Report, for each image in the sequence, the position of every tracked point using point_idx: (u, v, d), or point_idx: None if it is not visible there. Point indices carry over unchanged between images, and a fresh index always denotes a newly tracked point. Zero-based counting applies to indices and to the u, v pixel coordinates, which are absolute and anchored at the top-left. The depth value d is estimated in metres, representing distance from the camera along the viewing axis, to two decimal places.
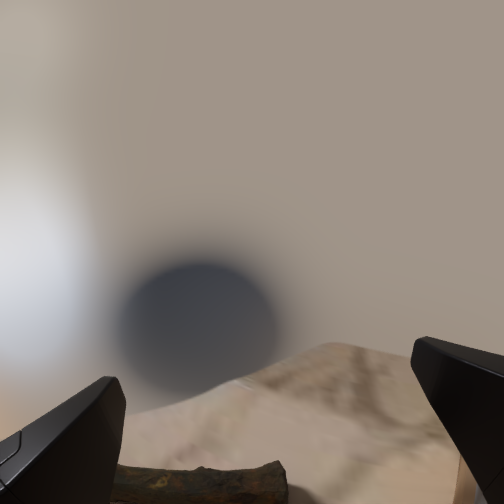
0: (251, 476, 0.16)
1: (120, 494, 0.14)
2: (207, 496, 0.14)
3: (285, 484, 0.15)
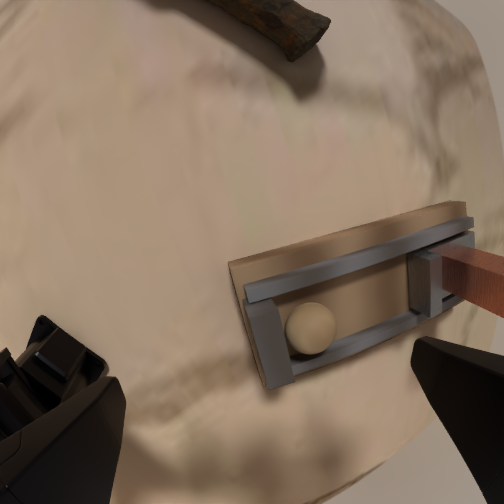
0: (296, 9, 0.14)
1: None
2: None
3: (314, 37, 0.14)
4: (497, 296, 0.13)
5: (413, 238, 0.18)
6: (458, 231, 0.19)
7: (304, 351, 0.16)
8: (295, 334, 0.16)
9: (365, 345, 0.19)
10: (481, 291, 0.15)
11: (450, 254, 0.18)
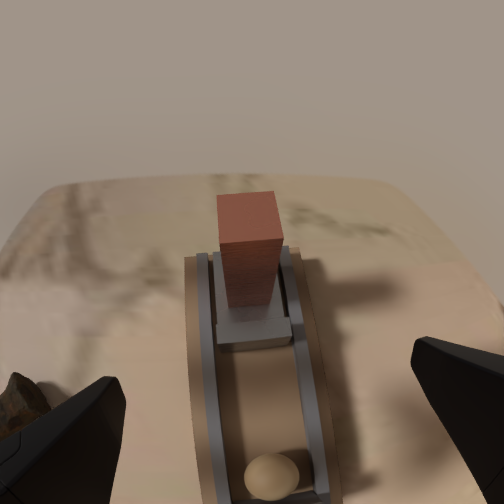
0: (5, 399, 0.14)
1: None
2: None
3: (24, 397, 0.15)
4: (253, 263, 0.15)
5: (201, 350, 0.18)
6: (206, 280, 0.20)
7: (288, 492, 0.12)
8: (267, 499, 0.12)
9: (314, 411, 0.16)
10: (254, 277, 0.16)
11: (227, 297, 0.19)
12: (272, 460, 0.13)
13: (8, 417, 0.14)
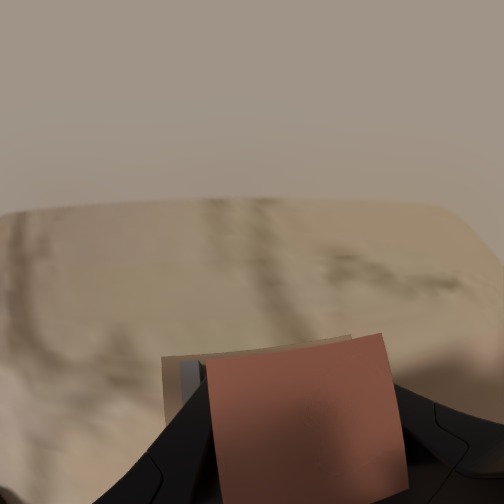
0: None
1: None
2: None
3: None
4: None
5: None
6: None
7: None
8: None
9: None
10: None
11: None
12: None
13: None
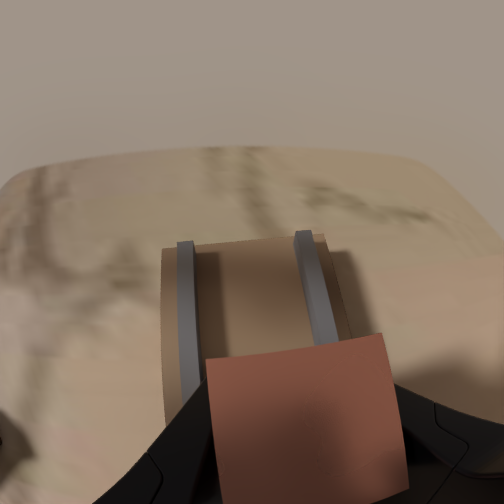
0: None
1: None
2: None
3: None
4: None
5: (182, 390, 0.11)
6: (191, 280, 0.13)
7: None
8: None
9: None
10: None
11: None
12: None
13: None
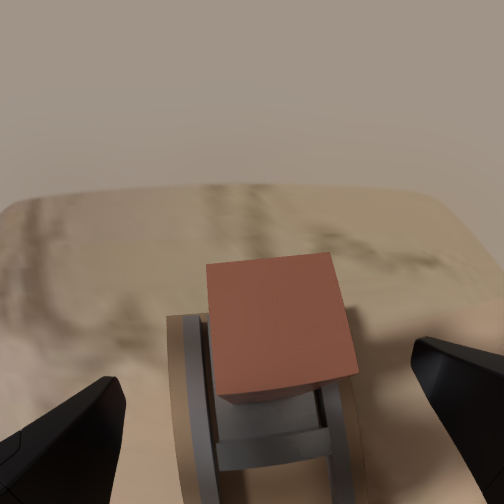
0: None
1: None
2: None
3: None
4: (283, 392, 0.07)
5: (195, 463, 0.10)
6: (199, 359, 0.13)
7: None
8: None
9: None
10: (281, 395, 0.08)
11: None
12: None
13: None
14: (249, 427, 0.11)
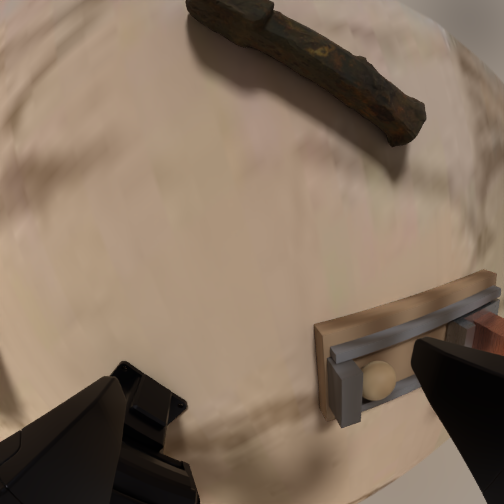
0: (401, 100, 0.16)
1: (263, 43, 0.16)
2: (357, 90, 0.16)
3: (419, 130, 0.17)
4: None
5: (457, 309, 0.20)
6: (488, 301, 0.21)
7: (371, 399, 0.19)
8: (368, 388, 0.18)
9: (409, 390, 0.21)
10: (500, 354, 0.17)
11: (480, 320, 0.20)
12: (395, 382, 0.19)
13: (387, 106, 0.16)
14: None
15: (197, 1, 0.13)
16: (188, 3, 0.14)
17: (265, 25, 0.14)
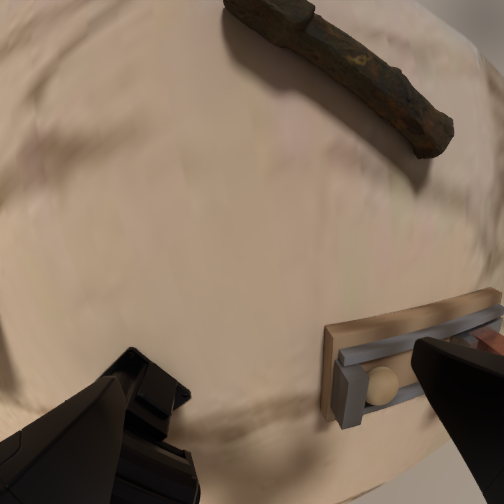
0: (432, 114, 0.16)
1: (302, 46, 0.15)
2: (391, 101, 0.16)
3: (446, 146, 0.16)
4: None
5: (462, 324, 0.20)
6: (492, 318, 0.21)
7: (373, 403, 0.19)
8: (372, 392, 0.19)
9: (408, 398, 0.21)
10: None
11: (482, 336, 0.20)
12: (397, 389, 0.19)
13: (418, 119, 0.16)
14: None
15: None
16: None
17: (305, 28, 0.14)
